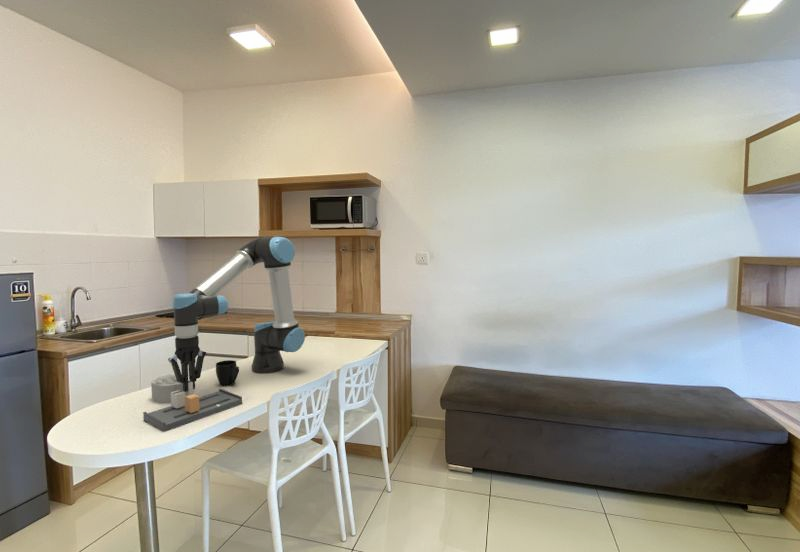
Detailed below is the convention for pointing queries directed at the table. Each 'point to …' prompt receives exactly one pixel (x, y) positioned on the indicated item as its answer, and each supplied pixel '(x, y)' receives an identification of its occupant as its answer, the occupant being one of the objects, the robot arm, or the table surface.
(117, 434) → the table surface
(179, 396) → the fader
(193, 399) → the fader
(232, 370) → the mug
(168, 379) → the lumpy-topped squat cylinder
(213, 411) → the console
